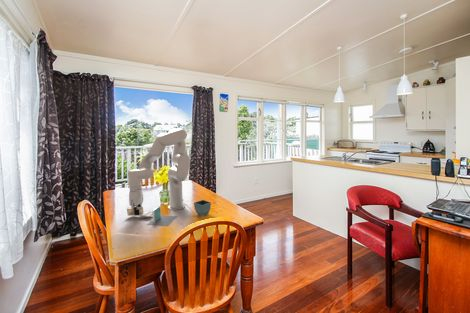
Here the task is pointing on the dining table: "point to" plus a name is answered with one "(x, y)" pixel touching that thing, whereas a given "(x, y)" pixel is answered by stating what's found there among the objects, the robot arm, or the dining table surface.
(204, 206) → the flower pot
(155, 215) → the tile
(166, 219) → the mat
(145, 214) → the turner
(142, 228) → the dining table surface
